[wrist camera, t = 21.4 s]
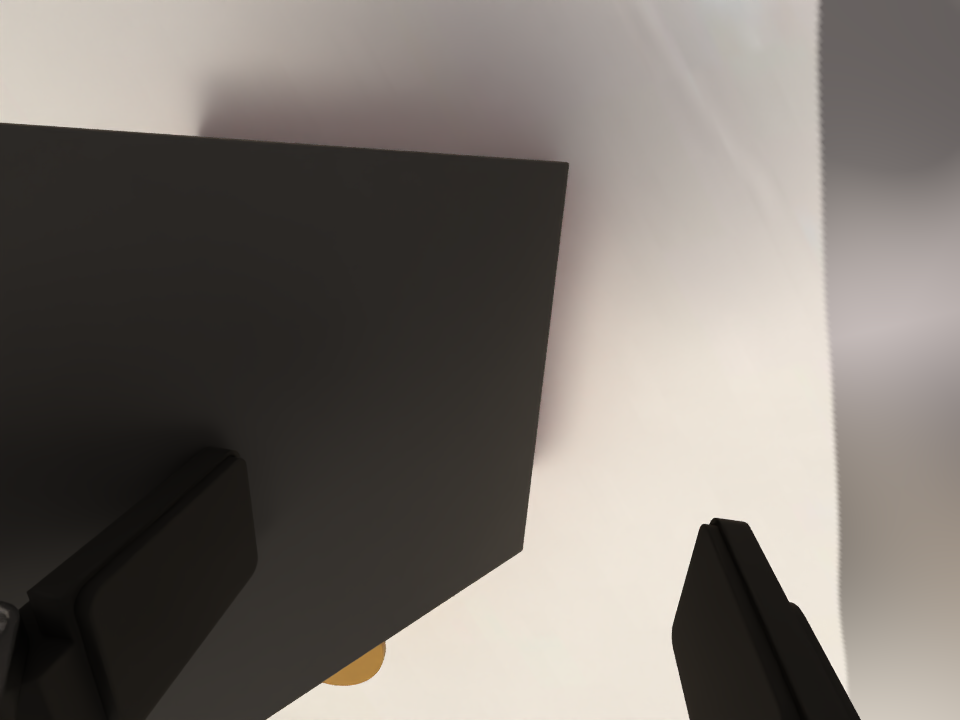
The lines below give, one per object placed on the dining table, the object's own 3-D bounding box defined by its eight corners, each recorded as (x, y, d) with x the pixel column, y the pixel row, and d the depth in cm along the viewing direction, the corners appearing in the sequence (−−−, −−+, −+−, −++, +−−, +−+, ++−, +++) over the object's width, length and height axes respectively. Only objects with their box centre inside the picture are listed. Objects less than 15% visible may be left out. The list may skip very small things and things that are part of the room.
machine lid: (-50, 888, 10) (-51, 930, 10) (-524, 86, 5) (-582, 82, 4) (509, 540, 21) (523, 550, 20) (549, 161, 16) (570, 162, 15)
